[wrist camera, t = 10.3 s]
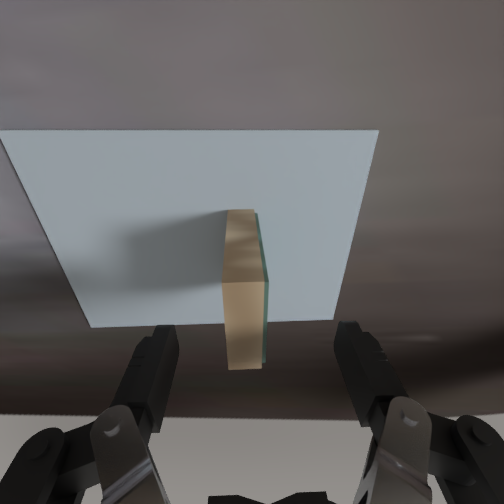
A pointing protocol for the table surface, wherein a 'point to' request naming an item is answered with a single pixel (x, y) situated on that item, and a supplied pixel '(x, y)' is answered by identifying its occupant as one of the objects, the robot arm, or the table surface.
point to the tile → (245, 291)
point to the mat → (193, 215)
